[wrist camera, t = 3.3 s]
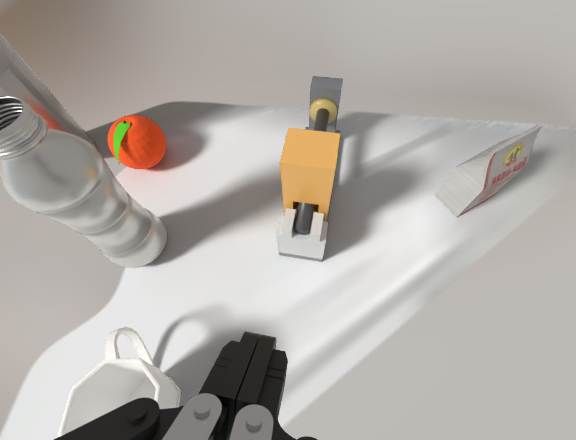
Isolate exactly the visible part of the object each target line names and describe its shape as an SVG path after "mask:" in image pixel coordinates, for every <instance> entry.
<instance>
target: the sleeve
mask: <svg viewBox="0 0 576 440" xmlns="http://www.w3.org/2000/svg"><path fill="white" fill-rule="evenodd" d="M339 140H340V133H331V132H322V131H313V130H304V129H295V128H288V132H287V136H286V140H285V144H284V148H283V151H282V155H281V159H280V172H281V183H282V195H283V206H284V215H285V210H286V208H289V209H296V215H297V210H298V205H299V202H302V203H309V204H314V209H313V214H314V212H317V213H324V216H323V221H325V222H326V221H327V215H328V210H329V204H330V198H331V192H332V187H333V181H334V175H335V169H336V162H337V155H338V147H339ZM312 220H313V215H312Z"/></svg>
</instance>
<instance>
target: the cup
mask: <svg viewBox="0 0 576 440" xmlns="http://www.w3.org/2000/svg"><path fill="white" fill-rule="evenodd" d="M119 334H124V335H125V336H126V337H127V338H129V339H130V341H131V342H132V344H133V345H134V347H135V349H136V351H137V353H138V355H139V357H140V358H121V359H120V356H119V352H118V348H117V344H116V343H117V337H118V336H119ZM180 397H181V390H180V389H179V388H178V386H177V385H176V384H175V382H174V381H173V380H172V378H171V377H167V376H166V375H165V374H164V373H163V372H162V371H161V370H160V369H158V368H157V367H155V366H154V364H153V361H152V359H151V357H150V354H149V352H148V350H147V348H146V346H145V344H144V342H143V341H142V339H141V338H140V336H139V335H138V333H137V332H136V331H134V330H133V329H132V328H128V327H124V328H120V329H117V330H115V331H113V332H110V334H109V335H108V337H107V338H106V340H105V359H104V360H103V361H101V362H100V363H99V364H98V365H97V366H96V367H95V368H94V369H93V370H91V371H90V372H89V373H88V374H87V375H86V376H85V377H84V378H83V379H81V380H80V381H79V382H78V383H77V384H76V385H75V386H74V387H73V388H71V391H70V394H69V398H68V401H67V405H66V408H65V412H64V415H63V419H62V422H61V426H60V429H59V433H58V436H59V437H60V436H62V435H64V434H66V433H68V432H70V431H72V430H74V429H76V428H78V427H80V426H82V425H84V424H86V423H88V422H90V421H92V420H94V419H96V418H98V417H100V416H102V415H104V414H106V413H108V412H110V411H112V410H114V409H116V408H118V407H120V406H122V405H124V404H126V403H128V402H130V401H133V400H135V399H138V398H151V399H154V400H155V401H156V402H157V403H158V405H159V409H168V408H177V407H179V405H180Z"/></svg>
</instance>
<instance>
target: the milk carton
mask: <svg viewBox="0 0 576 440" xmlns="http://www.w3.org/2000/svg"><path fill="white" fill-rule="evenodd" d="M538 125H539V124H538ZM538 125H537V126H538ZM537 126H535V127H533V128H531V129H529V130H528V131H526V132H524V133H522V134H520V135H517V136H515V137H512V138H510V139H507V140H504V141H502V142H500V143H498V144H496V145H494V146H492V147H491V148H489V149H487V150H485V151H483V152H482V153H480V154H478V155H476V156H474V157H473V158H471V159H469V160H467V161H466V162H464V163H462V164H460V165H458V166H457V167H456V168H455V169H454V171H453V172H452V174H451V175H450V176H449V178H448V179H447V180H446V182H445V183H444V184H443V186H442V187H441V188H440V190H439V191H438V192H437V194H436V195H435V196H436V197H437V198H438V199H439V200H440V201H441V202H442V203H443V204H444V205H445V206H446V207H447V208H448V209H449V210H450V211H451V212H452V213H453V214H454V215H455V216H456V217H458V216H460V215H461V214H463V213H465V212H466V211H468V210H470V209H471V208H473V207H475V206H476V205H478V204H479V203H481V202H483V201H484V200H486V199H488V198H489V197H491V196H493V195H494V194H496V193H497V192H498V191H499V190H500V189H501V188H502V187H503V186H504V185H505V184H506V183H508V182H509V181H510V180H511V179H512V178H513V177H514V176H515V175H516V174H517V173H518V172H519V171H520V170H521V169H522V168H523V167H524V166H526V165H527V164H528V160H529V157H530V154H531V150H532V147H533V144H534V141H535V138H536V136H537V134H538V132H539V130H540V129H541V127H542V126H541V127H538V128H536V127H537Z"/></svg>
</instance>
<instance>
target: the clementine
mask: <svg viewBox="0 0 576 440" xmlns="http://www.w3.org/2000/svg"><path fill="white" fill-rule="evenodd" d="M108 146H109V149H110V151H111V153H112V154H113V156H114V157H115V158H116V159H117V160H118V162H119V163H122V164H124V165H126V166H128V167H130V168H134V169H147V168H150V167H153V166H155V165H156V164H158V163H159V162H160V161H161V160H162V158H163V156H164V154H165V152H166V139H165V136H164V134H163V131H162V130H161V129H160V127H159V126H158V125H157V124H156V123H155V122H153V121H152V120H150V119H148V118H146V117H143V116H139V115H129V116H124V117H122V118H120V119H118V120H117V121H116V122H114V123H113V125H112V126H111V127H110V130H109V133H108Z"/></svg>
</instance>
